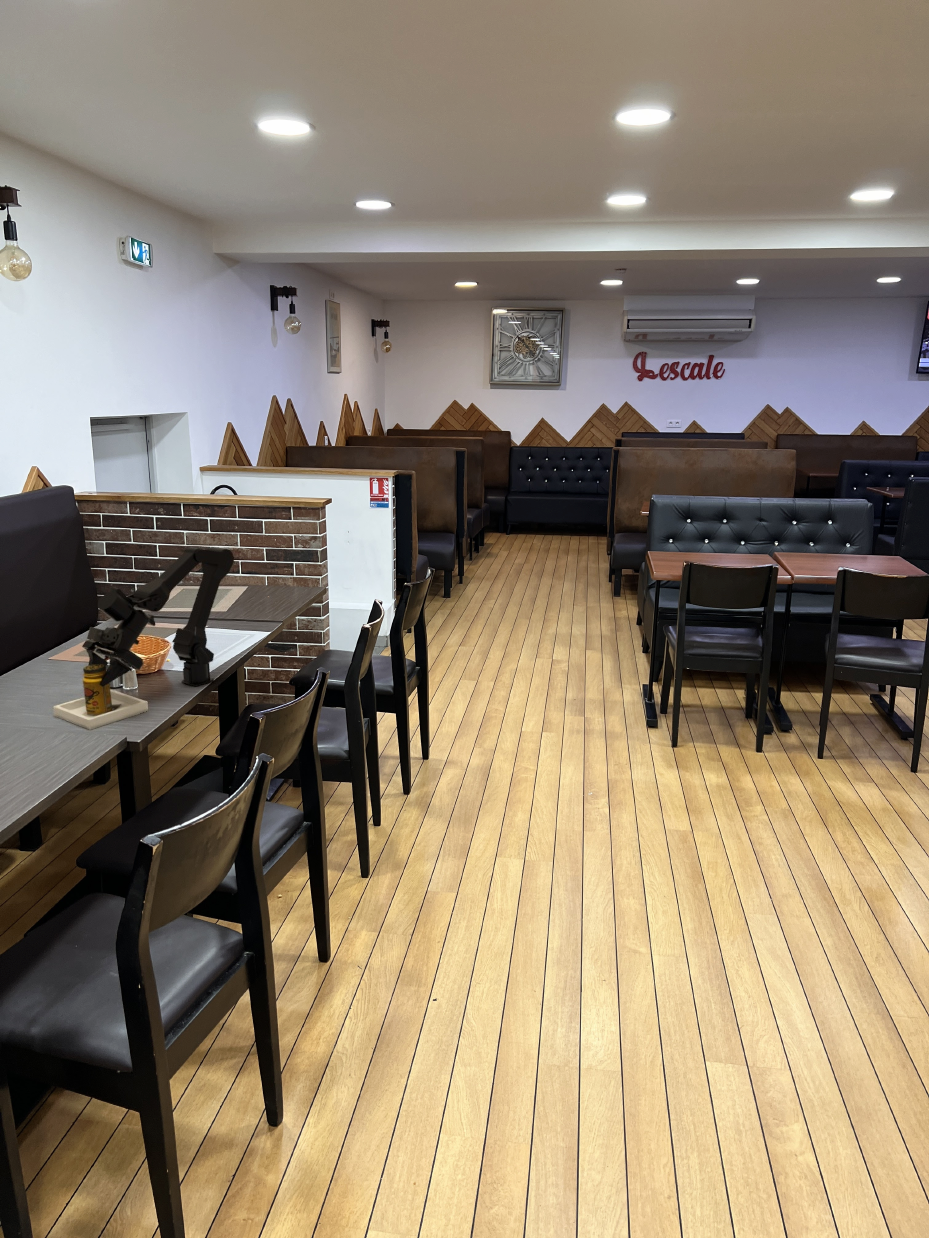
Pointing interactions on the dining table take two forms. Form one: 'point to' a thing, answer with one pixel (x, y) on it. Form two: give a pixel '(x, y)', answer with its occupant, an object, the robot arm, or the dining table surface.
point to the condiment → (96, 691)
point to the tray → (77, 707)
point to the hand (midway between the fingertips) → (93, 683)
